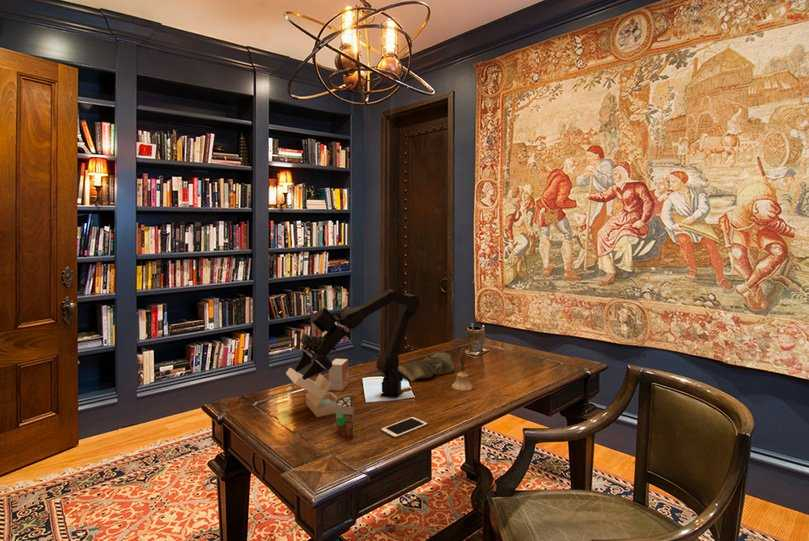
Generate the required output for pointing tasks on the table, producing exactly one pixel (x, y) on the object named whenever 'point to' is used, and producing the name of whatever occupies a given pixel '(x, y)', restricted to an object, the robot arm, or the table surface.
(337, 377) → the small box
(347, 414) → the food container
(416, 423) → the cell phone
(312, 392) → the flap
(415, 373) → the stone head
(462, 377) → the hand bell
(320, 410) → the carton
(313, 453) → the table surface
